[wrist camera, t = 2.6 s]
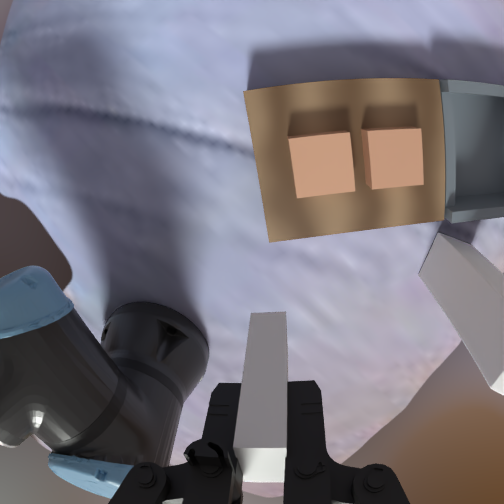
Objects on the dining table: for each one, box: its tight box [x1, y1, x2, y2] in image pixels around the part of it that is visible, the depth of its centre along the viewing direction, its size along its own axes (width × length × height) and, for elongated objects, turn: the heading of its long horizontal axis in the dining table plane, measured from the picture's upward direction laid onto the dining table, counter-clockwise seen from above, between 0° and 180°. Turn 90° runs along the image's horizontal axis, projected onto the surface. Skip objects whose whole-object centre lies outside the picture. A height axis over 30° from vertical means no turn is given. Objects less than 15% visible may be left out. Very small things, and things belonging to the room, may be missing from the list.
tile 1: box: [361, 126, 424, 190], centre depth 25 cm, size 5×5×2 cm
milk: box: [418, 232, 504, 395], centre depth 25 cm, size 6×6×22 cm
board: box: [243, 78, 445, 243], centre depth 28 cm, size 18×14×4 cm
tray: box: [439, 79, 504, 223], centre depth 26 cm, size 13×14×5 cm
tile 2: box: [287, 130, 355, 198], centre depth 26 cm, size 5×5×2 cm
